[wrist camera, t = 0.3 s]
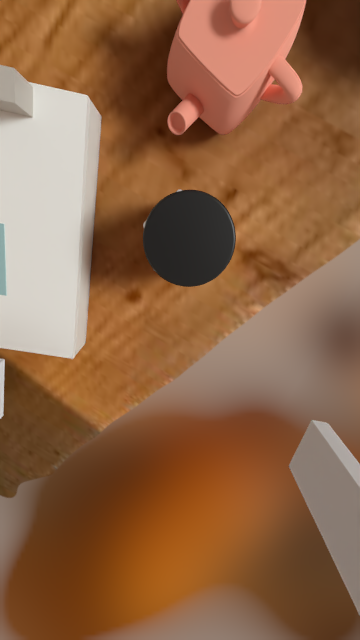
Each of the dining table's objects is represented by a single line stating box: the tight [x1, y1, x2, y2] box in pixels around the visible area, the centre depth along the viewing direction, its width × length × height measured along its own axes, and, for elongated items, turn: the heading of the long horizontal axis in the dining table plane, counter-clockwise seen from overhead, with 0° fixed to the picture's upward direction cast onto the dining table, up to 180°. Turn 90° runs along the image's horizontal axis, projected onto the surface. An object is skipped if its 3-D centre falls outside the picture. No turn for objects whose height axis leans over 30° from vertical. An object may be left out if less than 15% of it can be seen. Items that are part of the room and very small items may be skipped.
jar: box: [143, 189, 236, 287], centre depth 28 cm, size 9×8×12 cm
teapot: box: [167, 0, 306, 135], centre depth 24 cm, size 14×12×10 cm
